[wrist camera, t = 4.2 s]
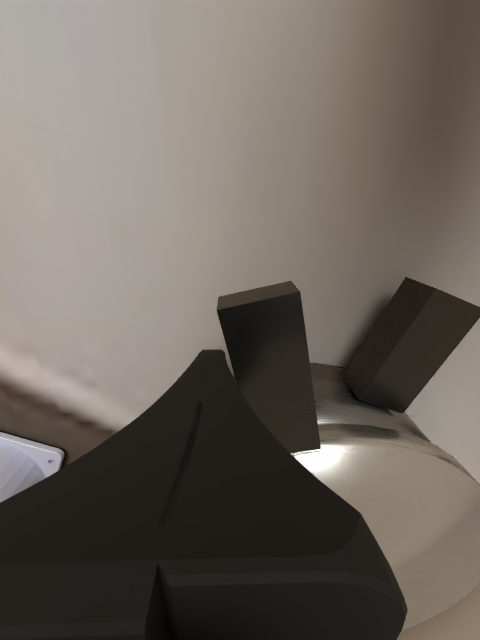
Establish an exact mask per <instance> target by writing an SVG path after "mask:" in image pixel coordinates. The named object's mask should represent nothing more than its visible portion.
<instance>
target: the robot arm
mask: <svg viewBox="0 0 480 640" xmlns="http://www.w3.org/2000/svg"><path fill="white" fill-rule="evenodd" d="M63 458H64V452H63V451H62V450H61V449H58V448H55V447H51V446H48V445H44V444H41V443H37V442H34V441H31V440H27V439H24V438H20V437H17V436H13V435H10V434H6V433H3V432H0V640H396V639H397V637H398V636H399V634H400V632H401V631H402V628H403V625H404V622H405V619H406V615H407V611H408V609H407V605H406V602H405V598H404V596H403V594H402V591H401V589H400V587H399V584H398V582H397V580H396V577H395V575H394V573H393V571H392V569H391V567H390V565H389V563H388V561H387V559H386V557H385V555H384V553H383V552H382V550H381V548H380V546H379V544H378V542H377V541H376V539H375V537H374V535H373V534H372V532H371V530H370V528H369V527H368V525H367V523H366V521H365V520H364V518H363V516H362V515H361V513H360V512H359V511H358V510H356V509H355V508H354V507H353V506H351V505H350V504H349V503H348V502H346V501H345V500H344V499H343V498H341V497H340V496H339V495H338V494H336V493H335V492H334V491H333V490H331V489H330V488H329V487H327V486H326V485H325V484H324V483H322V482H321V481H320V480H319V479H318V478H316V477H315V476H314V475H313V474H312V473H311V472H310V471H309V470H308V469H307V468H306V467H304V466H303V465H302V464H301V463H300V462H299V461H298V460H297V459H296V458H295V457H294V456H293V455H292V454H291V453H290V452H289V451H288V450H287V449H286V448H285V447H284V446H283V445H282V444H281V443H280V442H279V441H278V440H277V439H276V437H275V436H274V435H273V434H272V433H271V432H270V431H269V430H268V428H267V427H266V426H265V425H264V424H263V422H262V421H261V420H260V419H259V417H258V416H257V415H256V413H255V412H254V411H253V409H252V408H251V407H250V405H249V404H248V402H247V401H246V399H245V398H244V396H243V394H242V393H241V391H240V389H239V388H238V386H237V384H236V382H235V380H234V378H233V376H232V374H231V372H230V370H229V367H228V365H227V362H226V358H225V352H224V351H223V350H202V351H201V352H200V353H199V354H198V356H197V357H196V358H195V360H194V361H193V362H192V363H191V365H190V366H189V367H188V368H187V370H186V371H185V372H184V373H183V374H182V375H181V376H180V378H179V379H178V380H177V381H176V382H175V383H174V384H173V385H172V386H171V387H170V388H169V389H168V390H167V391H166V392H165V393H164V394H163V395H162V396H161V397H160V398H159V399H158V400H157V401H156V402H155V403H154V404H153V405H152V406H151V407H149V408H148V409H147V410H146V411H145V412H144V413H142V414H141V415H140V416H139V417H138V418H136V419H135V420H134V421H133V422H131V423H130V424H129V425H127V426H126V427H124V428H123V429H122V430H120V431H119V432H117V433H116V434H114V435H113V436H112V437H110V438H109V439H107V440H106V441H105V442H103V443H102V444H100V445H99V446H97V447H96V448H94V449H93V450H91V451H90V452H88V453H86V454H85V455H83V456H82V457H80V458H79V459H77V460H75V461H74V462H72V463H70V464H69V465H67V466H65V467H64V468H62V469H60V468H61V465H62V462H63Z"/></svg>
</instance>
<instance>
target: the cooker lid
mask: <svg viewBox="0 0 480 640" xmlns="http://www.w3.org/2000/svg"><path fill="white" fill-rule="evenodd" d="M217 313H218V317H219V320H220V324H221V328H222V331H223V335H224V338H225V342H226V346H227V349H228V353H229V356H230V360H231V364H232V367H233V371H234V375H235V378H236V382H237V385H238V388H239V389H240V391H241V393H242V394H243V396H244V398H245V399H246V401H247V402H248V404H249V405H250V407H251V408H252V409H253V411H254V412H255V413H256V415H257V416H258V417H259V419H260V420H261V421H262V422H263V424H264V425H265V426H266V427H267V428H268V430H269V431H270V432H271V433H272V434H273V435H274V436H275V437H276V439H277V440H278V441H279V442H280V443H281V444H282V445H283V446H284V447H285V448H286V449H287V450H288V451H289V452H290V453H291V454H292V455H293V456H294V457H295V458H296V459H297V460H298V461H299V462H300V463H301V464H302V465H303V466H304V467H306V468H307V469H308V470H309V471H310V472H311V473H312V474H313V475H314V476H315V477H316V478H318V479H319V480H320V481H321V482H322V483H324V484H325V485H326V486H327V487H329V488H330V489H331V490H333V491H334V492H335V493H336V494H338V495H339V496H340V497H341V498H343V499H344V500H345V501H346V502H348V503H349V504H350V505H351V506H353V507H354V508H355V509H356V510H358V511H359V512H360V513H361V515H362V516H363V518H364V520H365V521H366V523H367V525H368V527H369V528H370V530H371V532H372V534H373V535H374V537H375V539H376V541H377V542H378V544H379V546H380V548H381V550H382V552H383V553H384V555H385V557H386V559H387V561H388V563H389V565H390V567H391V569H392V571H393V573H394V575H395V577H396V580H397V582H398V584H399V587H400V589H401V591H402V594H403V596H404V598H405V602H406V605H407V609H408V611H407V615H406V619H405V622H404V625H403V628H402V631H403V630H405V629H407V628H410V627H412V626H415V625H417V624H419V623H421V622H423V621H426V620H428V619H430V618H432V617H434V616H435V615H437V614H439V613H441V612H442V611H444V610H446V609H447V608H449V607H450V606H452V605H453V604H455V603H456V602H457V601H459V600H460V599H462V598H463V597H464V596H465V595H466V594H468V593H469V592H470V591H471V590H472V589H473V588H474V587H476V585H477V584H478V583H479V582H480V484H479V483H478V482H477V481H476V480H475V479H474V478H473V477H472V475H471V474H470V473H469V472H468V471H467V470H466V469H465V468H464V467H463V466H462V465H461V464H460V463H459V462H458V461H457V460H456V459H455V458H454V457H453V456H451V455H450V454H448V453H447V452H445V451H444V450H442V449H441V448H439V447H438V446H436V445H434V444H432V443H430V442H428V441H425V440H423V439H421V438H419V437H416V436H413V435H410V434H406V433H403V432H400V431H397V430H393V429H387V428H381V427H375V426H370V425H356V424H318V421H317V414H316V406H315V399H314V392H313V384H312V377H311V369H310V362H309V354H308V347H307V339H306V332H305V324H304V317H303V310H302V302H301V295H300V291H299V290H298V289H297V287H296V286H295V285H294V284H293V283H292V281H288V282H284V283H279V284H275V285H270V286H266V287H261V288H257V289H252V290H248V291H243V292H239V293H234V294H230V295H225V296H221V297H219V298H218V304H217Z"/></svg>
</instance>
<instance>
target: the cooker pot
mask: <svg viewBox="0 0 480 640" xmlns="http://www.w3.org/2000/svg"><path fill="white" fill-rule="evenodd" d="M479 318H480V307H478V306H476V305H473V304H471V303H469V302H466V301H464V300H462V299H459V298H457V297H455V296H452V295H450V294H448V293H445V292H443V291H441V290H438V289H436V288H433V287H431V286H428V285H425V284H423V283H420V282H418V281H415V280H412V279H410V278H407V277H405V279H404V280H403V282H402V284H401V285H400V287H399V288H398V290H397V291H396V293H395V294H394V296H393V298H392V299H391V301H390V302H389V304H388V305H387V307H386V309H385V310H384V312H383V313H382V315H381V316H380V318H379V319H378V321H377V323H376V324H375V326H374V327H373V329H372V330H371V332H370V333H369V335H368V337H367V338H366V340H365V341H364V343H363V344H362V346H361V348H360V349H359V351H358V352H357V354H356V355H355V357H354V358H353V360H352V362H351V363H350V365H349V366H348V368H347V369H344V368H340V367H336V366H333V365H325V364H318V363H310V369H311V377H312V384H313V392H314V399H315V406H316V414H317V421H318V424H356V425H370V426H375V427H381V428H387V429H393V430H397V431H400V432H403V433H406V434H410V435H413V436H416V437H419V438H421V439H423V440H425V441H428V442H430V441H429V440H428V439H427V437H426V436H425V435H424V434H423V433H422V432H421V430H420V429H419V428H418V427H417V426H416V425H415V423H414V422H413V421H412V420H411V419H410V418H409V416H408V415H407V414H406V413H405V412H404V411H405V410H406V409H407V408H408V406H409V405H410V404H411V403H412V401H413V400H414V399H415V398H416V396H417V395H418V394H419V393H420V391H421V390H422V389H423V388H424V386H425V385H426V384H427V383H428V381H429V380H430V379H431V378H432V376H433V375H434V374H435V373H436V371H437V370H438V369H439V368H440V366H441V365H442V364H443V363H444V361H445V360H446V359H447V358H448V356H449V355H450V354H451V353H452V351H453V350H454V349H455V348H456V346H457V345H458V344H459V343H460V341H461V340H462V339H463V338H464V336H465V335H466V334H467V333H468V332H469V330H470V329H471V328H472V327H473V325H474V324H475V323H476V322H477V320H478V319H479ZM234 380H235V382H236V378H235V377H234ZM236 384H237V382H236ZM237 386H238V385H237ZM430 443H431V442H430Z"/></svg>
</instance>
